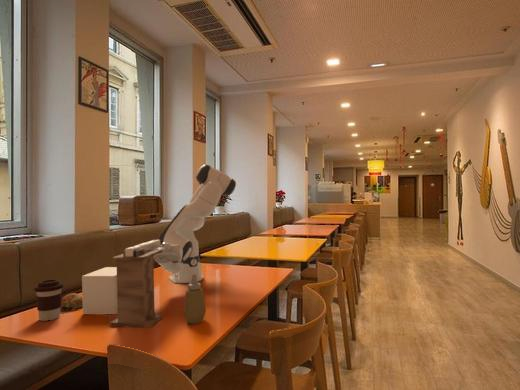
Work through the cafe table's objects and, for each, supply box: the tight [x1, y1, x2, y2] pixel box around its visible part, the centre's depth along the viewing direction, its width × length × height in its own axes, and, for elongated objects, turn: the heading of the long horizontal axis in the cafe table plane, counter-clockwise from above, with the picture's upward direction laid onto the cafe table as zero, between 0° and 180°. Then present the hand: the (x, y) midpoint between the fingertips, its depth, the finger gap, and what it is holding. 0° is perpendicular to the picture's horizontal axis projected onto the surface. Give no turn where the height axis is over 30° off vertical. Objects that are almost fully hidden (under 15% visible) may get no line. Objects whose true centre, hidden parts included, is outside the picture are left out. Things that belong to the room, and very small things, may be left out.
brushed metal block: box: [124, 239, 160, 257], centre depth 141 cm, size 26×3×3 cm, turn 174°
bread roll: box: [60, 292, 83, 312], centre depth 154 cm, size 10×10×8 cm
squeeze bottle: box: [183, 274, 207, 325], centre depth 132 cm, size 8×8×18 cm
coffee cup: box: [33, 279, 64, 322], centre depth 140 cm, size 10×10×15 cm
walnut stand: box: [109, 249, 163, 328], centre depth 136 cm, size 18×16×28 cm
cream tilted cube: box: [81, 266, 118, 315], centre depth 152 cm, size 18×14×16 cm
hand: (153, 244), depth 151 cm, fingers open, 8 cm apart
